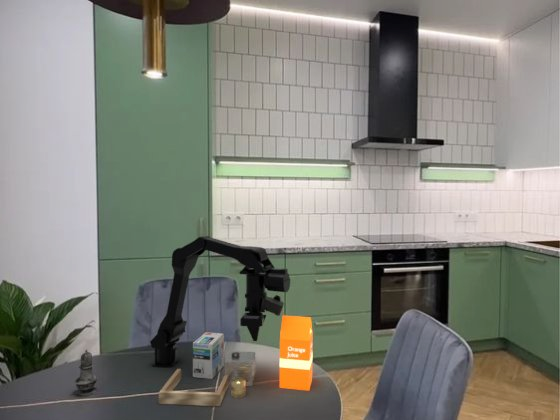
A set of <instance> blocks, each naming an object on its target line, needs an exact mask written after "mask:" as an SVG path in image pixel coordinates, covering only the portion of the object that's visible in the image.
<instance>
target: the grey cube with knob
mask: <svg viewBox="0 0 560 420" xmlns="http://www.w3.org/2000/svg"><path fill="white" fill-rule="evenodd" d="M256 361H257V360H256V351H240V350H239V351H237V350H236V351H235V350H234V351H233V350H230V351H229V352H228V355H227V356H226V358H225V359H224V375H229V386H231V380H232V379H233V378H236V377H243V378H245V379H246V387H252V386H253V383H254V379H255V376H256V369H257V367H256Z"/></svg>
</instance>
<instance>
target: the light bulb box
mask: <svg viewBox="0 0 560 420" xmlns="http://www.w3.org/2000/svg"><path fill="white" fill-rule="evenodd" d="M224 367H225V333H218V332H207V331H205V332H204V333H203V334H202V335H201V336H200V337H198V338H197V339H196V340H195V341H193V342H192V377H193V378H199V379H208V380H213V379H214V378H215V376H217V375H218V373H219V372H220V371H221V370H222V369H223V368H224Z"/></svg>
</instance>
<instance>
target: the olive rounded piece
mask: <svg viewBox="0 0 560 420" xmlns="http://www.w3.org/2000/svg"><path fill="white" fill-rule="evenodd" d="M230 386H231V391H230V393H231V394H230V396H231V395H232V396H231V397H232V398H234V399H242V398H244V397H246V394H247V392H246V388H247V386H246V379H245V378H243V377H236V378H233V379H232V380H231V385H230Z"/></svg>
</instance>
